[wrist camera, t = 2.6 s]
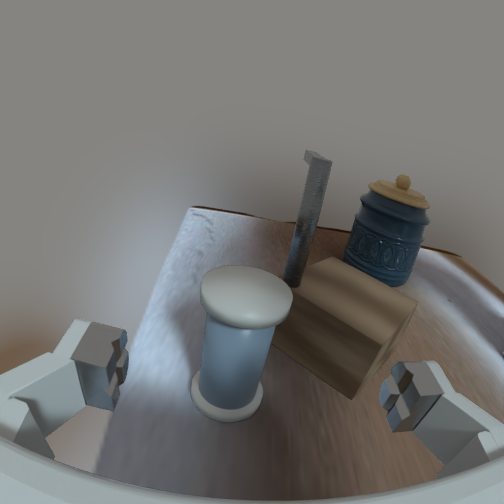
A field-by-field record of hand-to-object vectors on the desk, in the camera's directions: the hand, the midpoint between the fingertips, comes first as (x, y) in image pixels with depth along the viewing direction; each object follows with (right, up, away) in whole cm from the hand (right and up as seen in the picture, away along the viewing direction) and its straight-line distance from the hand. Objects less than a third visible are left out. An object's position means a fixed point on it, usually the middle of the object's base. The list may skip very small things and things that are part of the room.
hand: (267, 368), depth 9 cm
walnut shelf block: (+8, -7, +25) cm, 28 cm away
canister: (+22, 0, +46) cm, 51 cm away
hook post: (+3, +1, +24) cm, 24 cm away
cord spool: (-3, -9, +17) cm, 19 cm away
